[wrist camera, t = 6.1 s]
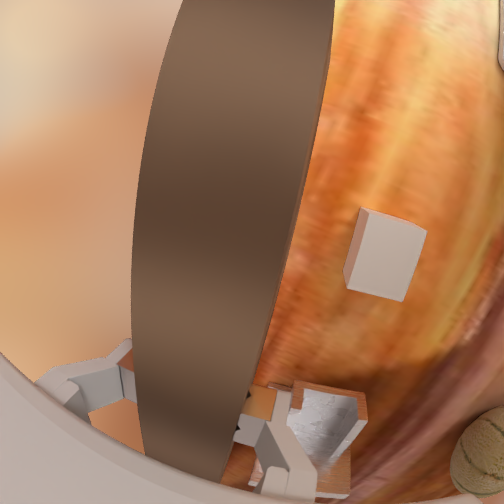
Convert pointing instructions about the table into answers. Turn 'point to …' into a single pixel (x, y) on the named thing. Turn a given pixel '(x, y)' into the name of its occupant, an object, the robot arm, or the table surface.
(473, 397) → the table surface
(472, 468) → the cantaloupe
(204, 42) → the walnut rail
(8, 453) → the robot arm
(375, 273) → the pale grey block
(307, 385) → the bracket
